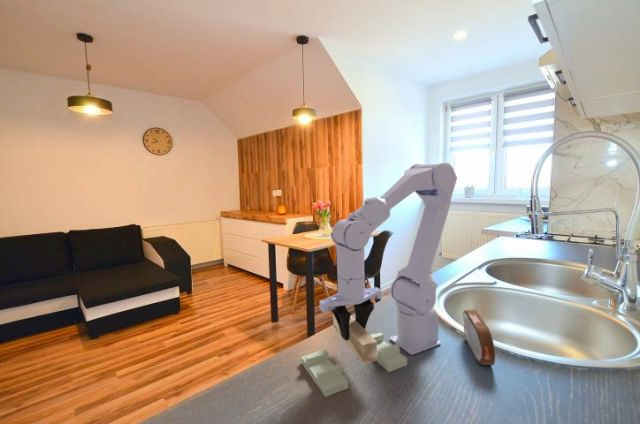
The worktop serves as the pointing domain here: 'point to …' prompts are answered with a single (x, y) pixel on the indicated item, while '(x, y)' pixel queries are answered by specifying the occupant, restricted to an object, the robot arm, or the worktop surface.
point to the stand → (331, 375)
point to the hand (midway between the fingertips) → (352, 335)
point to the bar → (359, 341)
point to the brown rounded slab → (479, 337)
